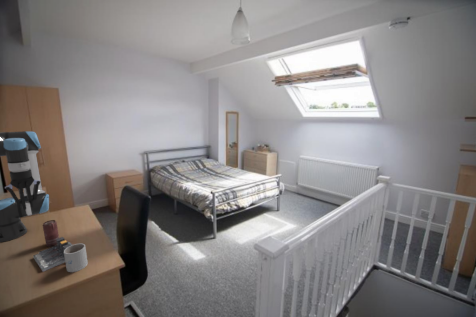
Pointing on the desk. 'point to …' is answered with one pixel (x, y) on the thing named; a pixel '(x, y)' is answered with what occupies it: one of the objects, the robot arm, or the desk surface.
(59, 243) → the block
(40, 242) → the desk surface
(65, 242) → the block
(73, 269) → the mug
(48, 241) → the can
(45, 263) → the panel
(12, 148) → the robot arm
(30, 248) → the desk surface
